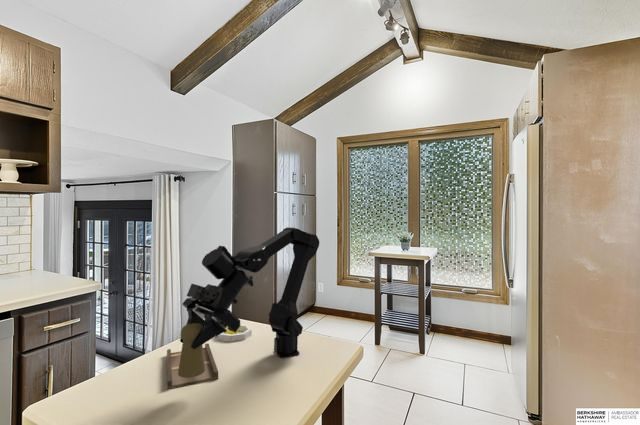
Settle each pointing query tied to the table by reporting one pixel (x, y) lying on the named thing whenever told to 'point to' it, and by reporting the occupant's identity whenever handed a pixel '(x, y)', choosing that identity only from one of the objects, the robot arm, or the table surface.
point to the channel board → (178, 381)
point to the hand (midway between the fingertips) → (186, 345)
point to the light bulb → (230, 332)
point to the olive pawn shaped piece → (191, 353)
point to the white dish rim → (236, 336)
